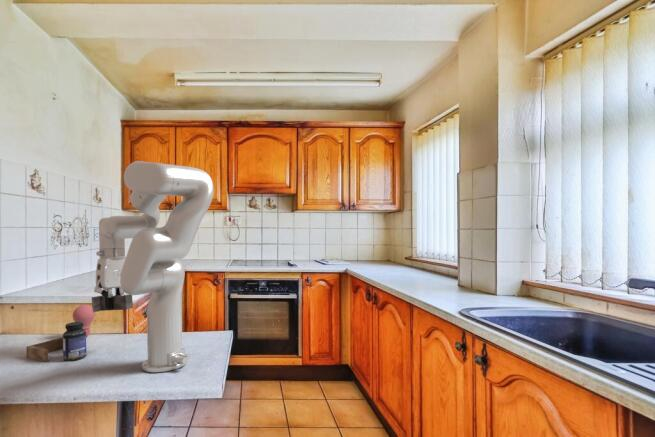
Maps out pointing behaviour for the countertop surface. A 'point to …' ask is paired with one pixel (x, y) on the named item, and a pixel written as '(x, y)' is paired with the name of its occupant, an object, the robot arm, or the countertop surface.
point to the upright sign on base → (118, 303)
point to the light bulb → (84, 316)
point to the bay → (44, 349)
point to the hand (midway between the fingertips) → (113, 307)
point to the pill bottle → (74, 342)
